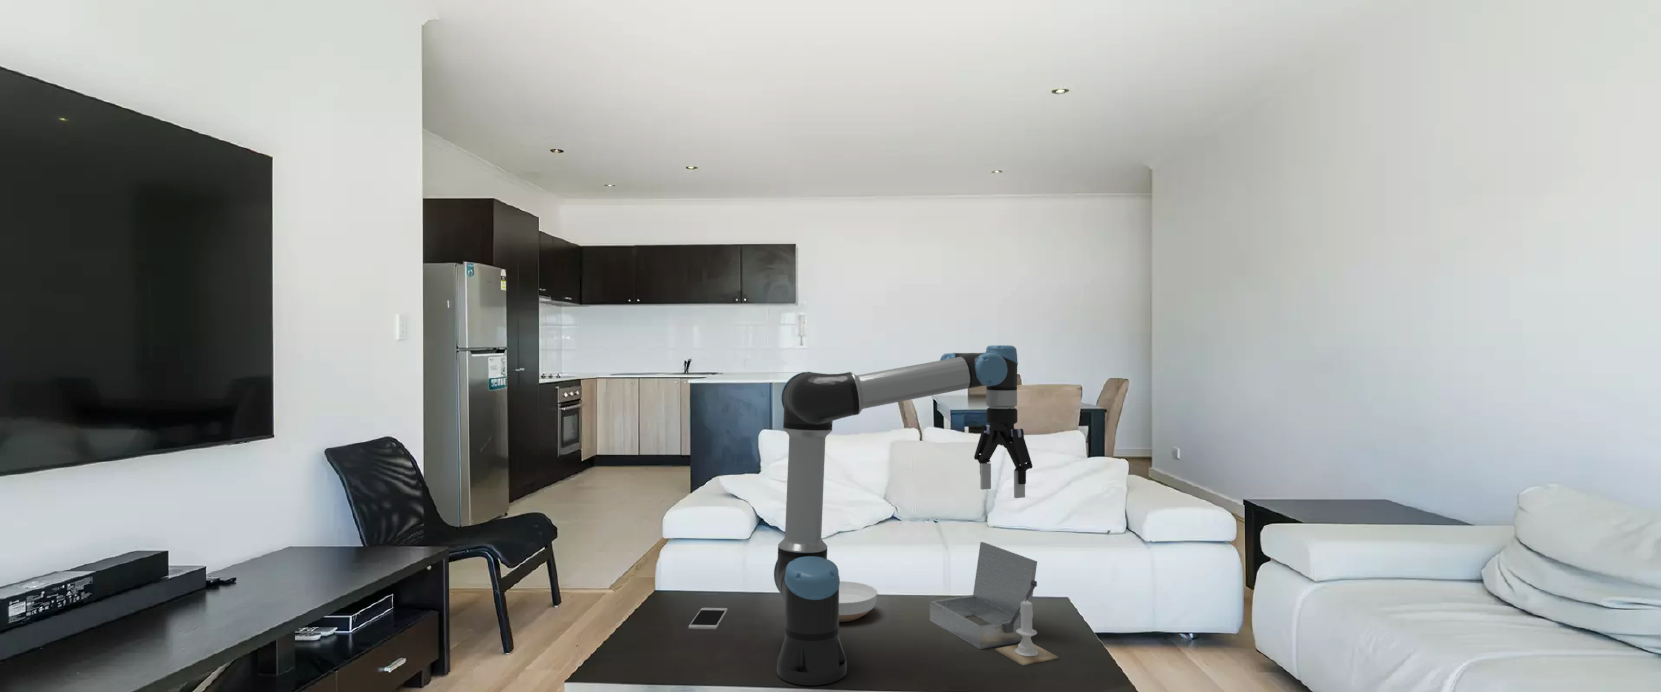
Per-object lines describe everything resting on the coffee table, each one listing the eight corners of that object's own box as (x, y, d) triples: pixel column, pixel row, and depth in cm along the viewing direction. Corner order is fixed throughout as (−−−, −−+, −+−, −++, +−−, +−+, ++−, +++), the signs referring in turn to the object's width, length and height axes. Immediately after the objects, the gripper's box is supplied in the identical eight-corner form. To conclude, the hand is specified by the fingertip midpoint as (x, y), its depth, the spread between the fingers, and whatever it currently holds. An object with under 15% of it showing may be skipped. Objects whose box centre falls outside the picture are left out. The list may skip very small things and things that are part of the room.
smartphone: (727, 611, 210) (727, 607, 210) (716, 630, 195) (716, 626, 195) (701, 610, 211) (701, 607, 211) (688, 630, 195) (687, 626, 195)
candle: (1016, 646, 182) (1016, 595, 182) (1039, 650, 180) (1039, 598, 180) (1013, 654, 177) (1012, 602, 177) (1037, 658, 175) (1036, 604, 175)
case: (982, 650, 181) (982, 569, 181) (929, 620, 202) (929, 547, 202) (1040, 640, 188) (1039, 561, 188) (983, 612, 209) (983, 541, 209)
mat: (1022, 665, 172) (1022, 663, 172) (995, 650, 181) (995, 648, 181) (1058, 658, 176) (1058, 656, 176) (1029, 643, 185) (1029, 642, 185)
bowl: (878, 604, 215) (878, 582, 215) (875, 628, 196) (875, 604, 196) (808, 602, 217) (809, 580, 217) (799, 625, 198) (799, 601, 198)
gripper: (1047, 409, 183) (1047, 500, 182) (984, 404, 206) (984, 484, 205) (1021, 410, 180) (1022, 502, 179) (960, 405, 202) (960, 486, 202)
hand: (1002, 493), depth 192 cm, fingers open, 13 cm apart
